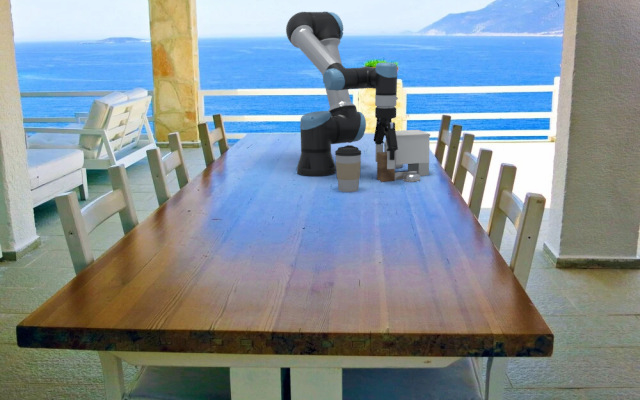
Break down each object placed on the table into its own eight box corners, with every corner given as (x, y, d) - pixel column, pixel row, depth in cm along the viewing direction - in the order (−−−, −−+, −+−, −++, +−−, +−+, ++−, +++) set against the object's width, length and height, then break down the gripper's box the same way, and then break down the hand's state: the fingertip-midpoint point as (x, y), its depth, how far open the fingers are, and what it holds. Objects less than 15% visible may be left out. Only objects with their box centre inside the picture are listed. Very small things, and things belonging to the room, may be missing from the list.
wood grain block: (381, 181, 249) (381, 154, 246) (377, 179, 253) (377, 152, 251) (419, 179, 252) (419, 152, 250) (413, 176, 257) (414, 150, 255)
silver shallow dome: (408, 183, 247) (408, 176, 246) (400, 180, 252) (400, 173, 252) (423, 181, 249) (423, 174, 248) (414, 178, 254) (414, 172, 254)
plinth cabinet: (395, 177, 255) (395, 135, 252) (385, 171, 267) (385, 131, 263) (429, 175, 258) (430, 133, 255) (417, 169, 270) (418, 129, 266)
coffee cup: (359, 193, 232) (359, 149, 228) (333, 192, 233) (332, 148, 230) (363, 187, 240) (363, 144, 237) (337, 186, 242) (337, 144, 239)
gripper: (407, 110, 235) (406, 171, 240) (384, 102, 258) (384, 158, 263) (386, 111, 233) (385, 172, 238) (365, 103, 257) (365, 159, 262)
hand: (384, 165), depth 251 cm, fingers open, 13 cm apart
